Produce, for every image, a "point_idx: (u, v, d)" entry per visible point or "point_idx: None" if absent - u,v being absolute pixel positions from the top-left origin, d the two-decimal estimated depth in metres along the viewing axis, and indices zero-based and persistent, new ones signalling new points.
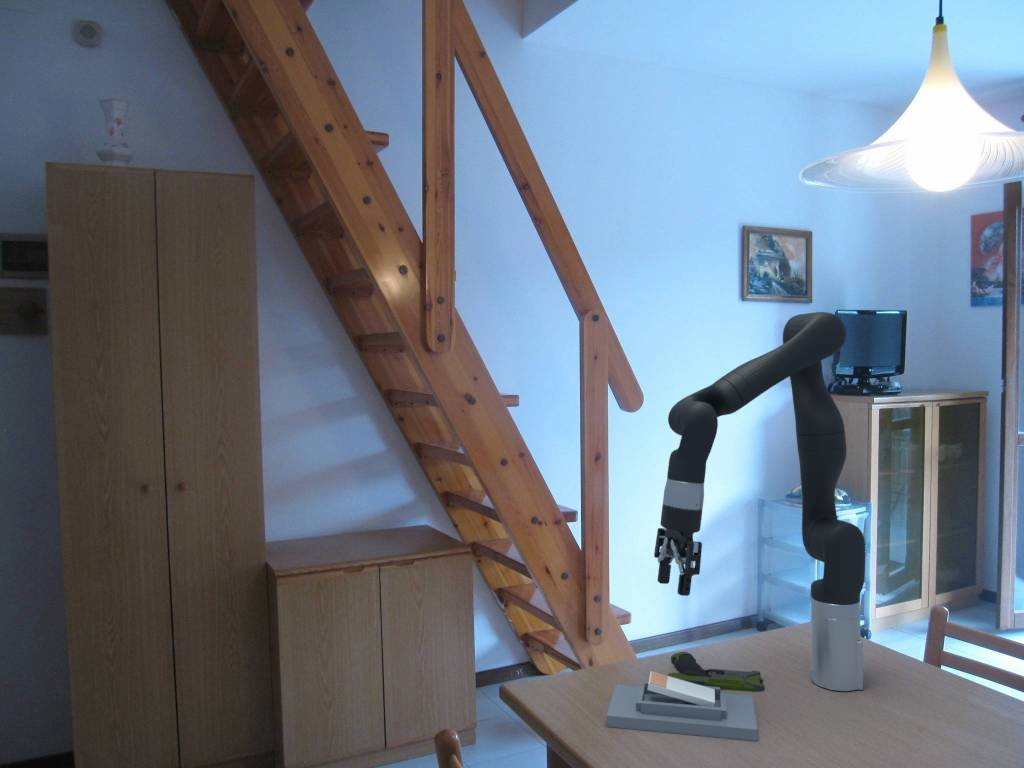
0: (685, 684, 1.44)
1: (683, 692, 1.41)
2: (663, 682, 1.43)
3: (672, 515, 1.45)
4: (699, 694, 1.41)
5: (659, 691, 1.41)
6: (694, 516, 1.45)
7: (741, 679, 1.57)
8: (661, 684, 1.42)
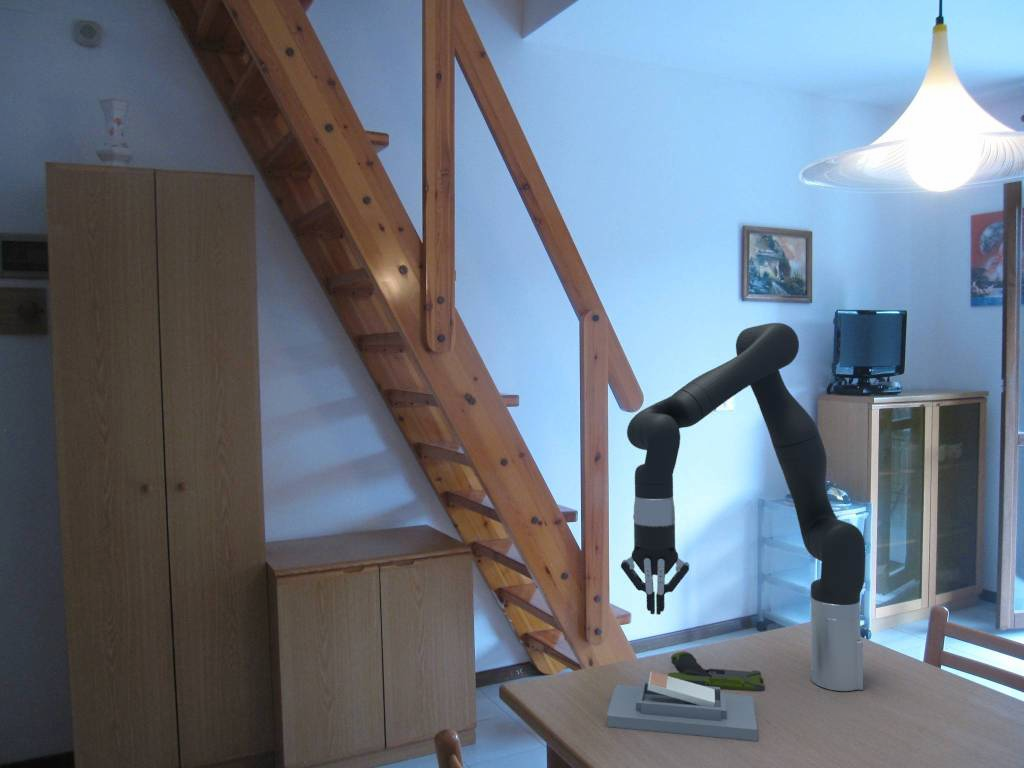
0: (685, 684, 1.44)
1: (683, 692, 1.41)
2: (663, 682, 1.43)
3: (665, 535, 1.41)
4: (699, 694, 1.41)
5: (659, 691, 1.41)
6: None
7: (741, 679, 1.57)
8: (661, 684, 1.42)
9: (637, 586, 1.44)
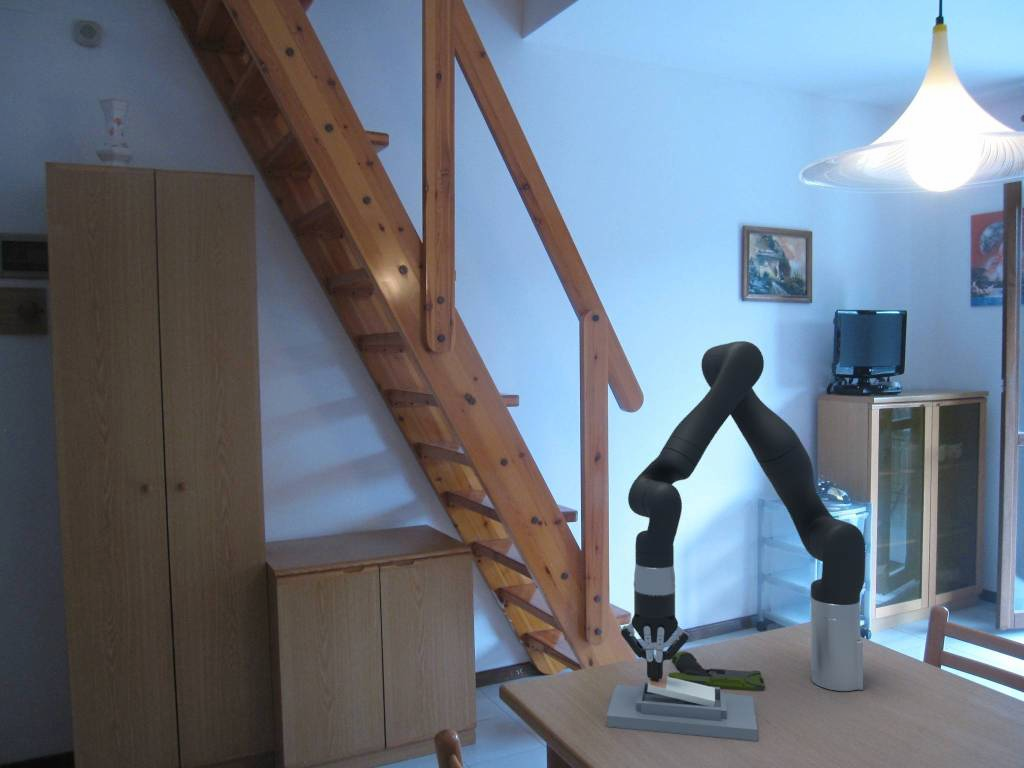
0: (684, 684, 1.44)
1: (683, 692, 1.41)
2: (663, 683, 1.43)
3: (665, 604, 1.41)
4: (699, 693, 1.41)
5: (659, 692, 1.41)
6: None
7: (742, 679, 1.58)
8: (661, 685, 1.42)
9: (638, 653, 1.44)
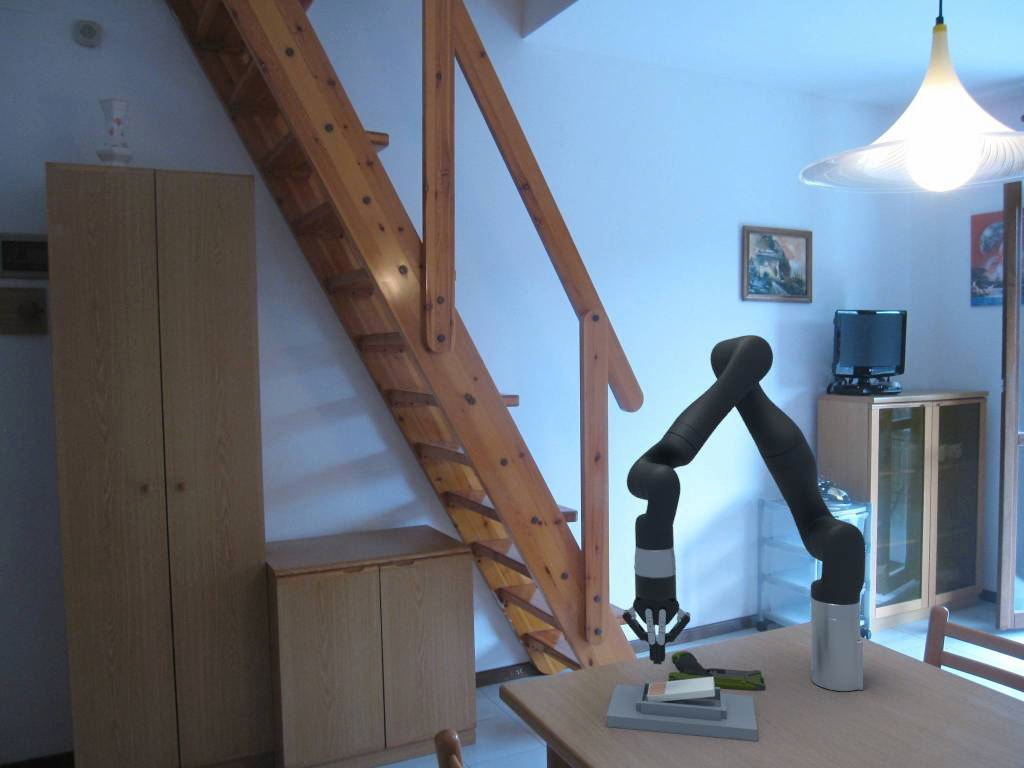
0: (683, 683, 1.44)
1: (682, 691, 1.41)
2: (661, 689, 1.43)
3: (666, 586, 1.41)
4: (697, 687, 1.42)
5: (660, 700, 1.41)
6: None
7: (742, 678, 1.58)
8: (660, 692, 1.42)
9: (640, 636, 1.44)
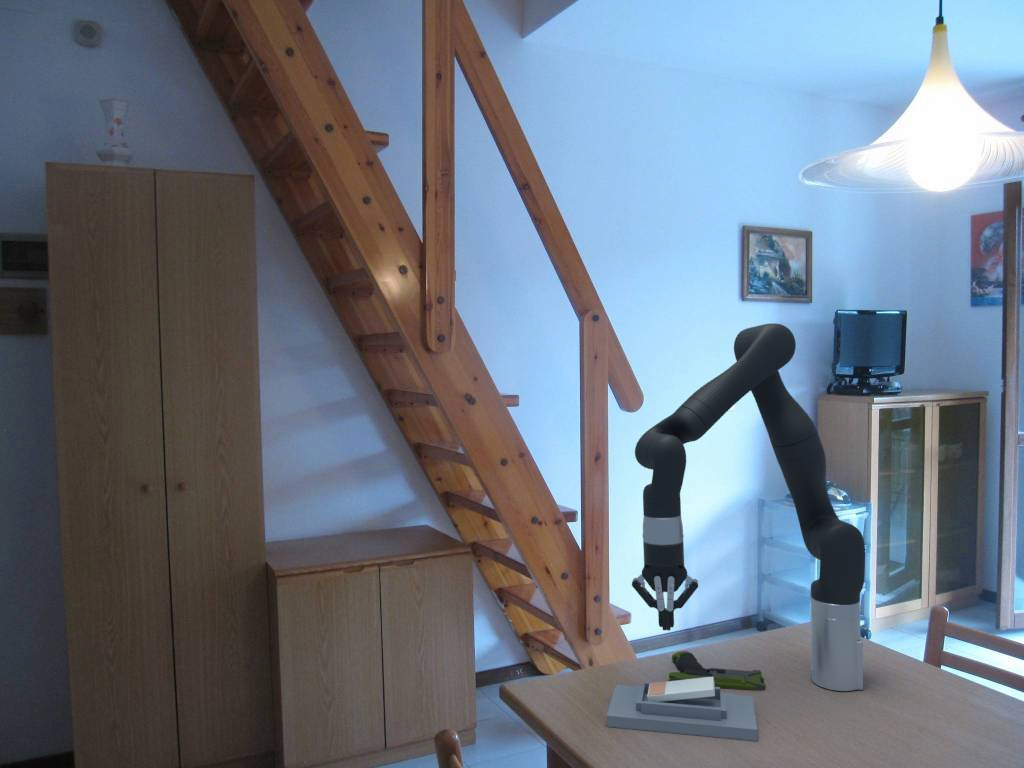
0: (683, 683, 1.44)
1: (682, 691, 1.41)
2: (661, 689, 1.43)
3: (674, 553, 1.44)
4: (697, 687, 1.42)
5: (660, 700, 1.41)
6: None
7: (742, 678, 1.58)
8: (660, 692, 1.42)
9: (649, 603, 1.47)
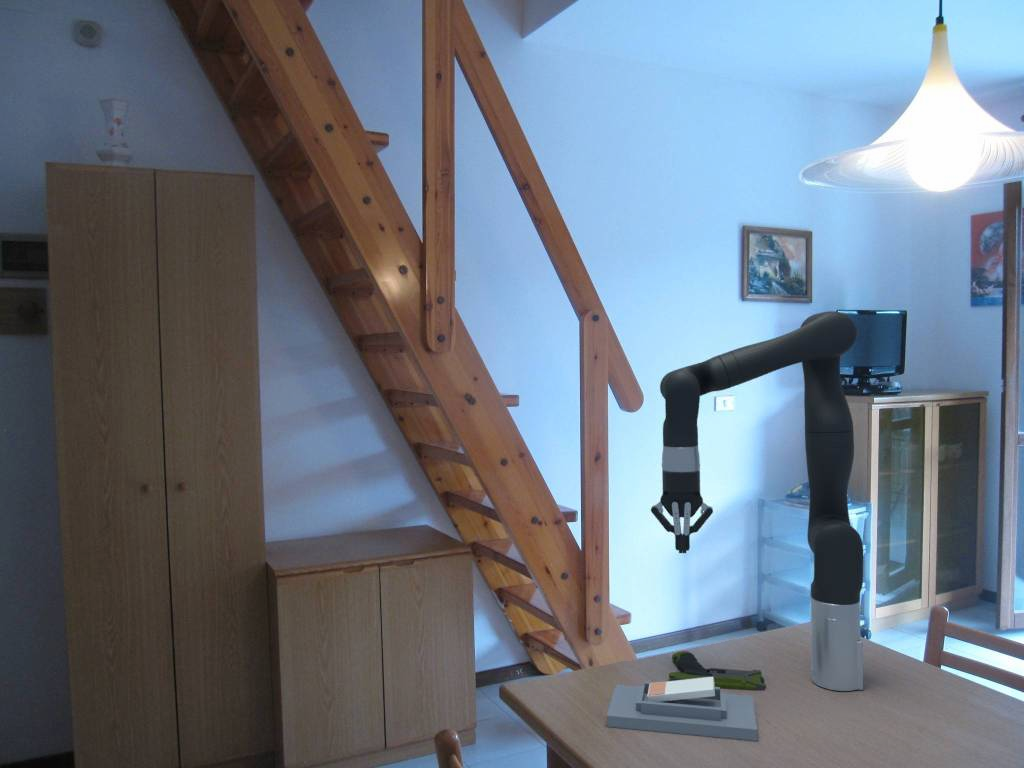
0: (683, 683, 1.44)
1: (682, 691, 1.41)
2: (661, 689, 1.43)
3: (691, 480, 1.55)
4: (697, 687, 1.42)
5: (660, 700, 1.41)
6: None
7: (742, 678, 1.58)
8: (660, 692, 1.42)
9: (666, 528, 1.58)
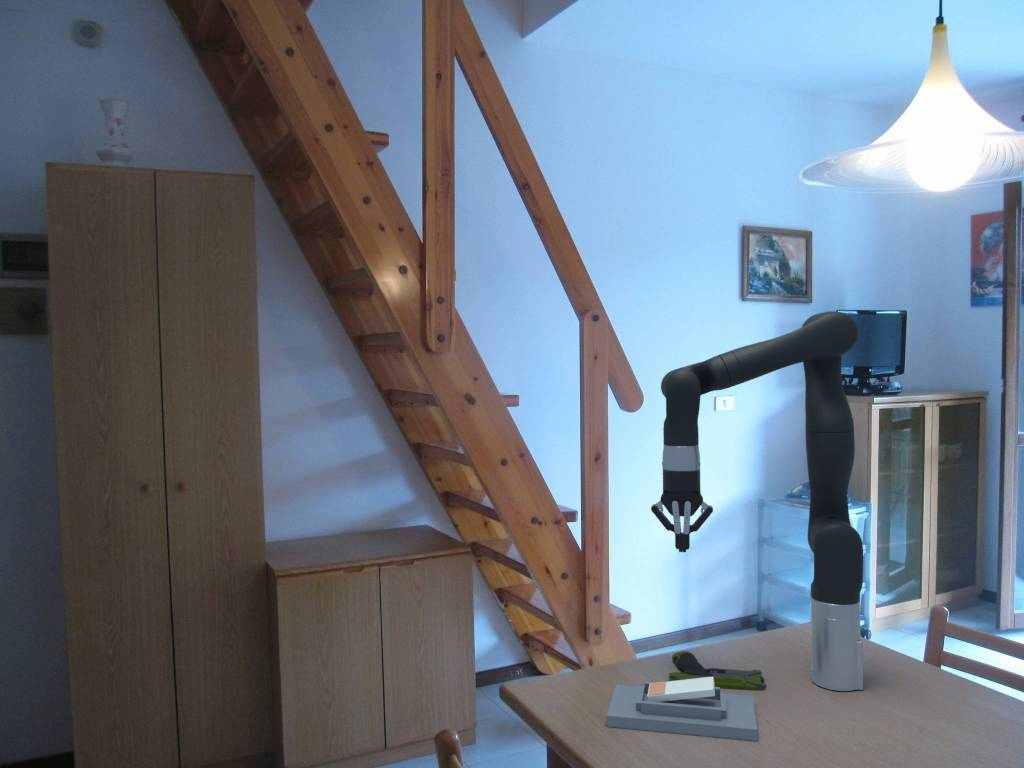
0: (683, 683, 1.44)
1: (682, 691, 1.41)
2: (661, 689, 1.43)
3: (692, 479, 1.55)
4: (697, 687, 1.42)
5: (660, 700, 1.41)
6: None
7: (742, 678, 1.58)
8: (660, 692, 1.42)
9: (666, 527, 1.58)
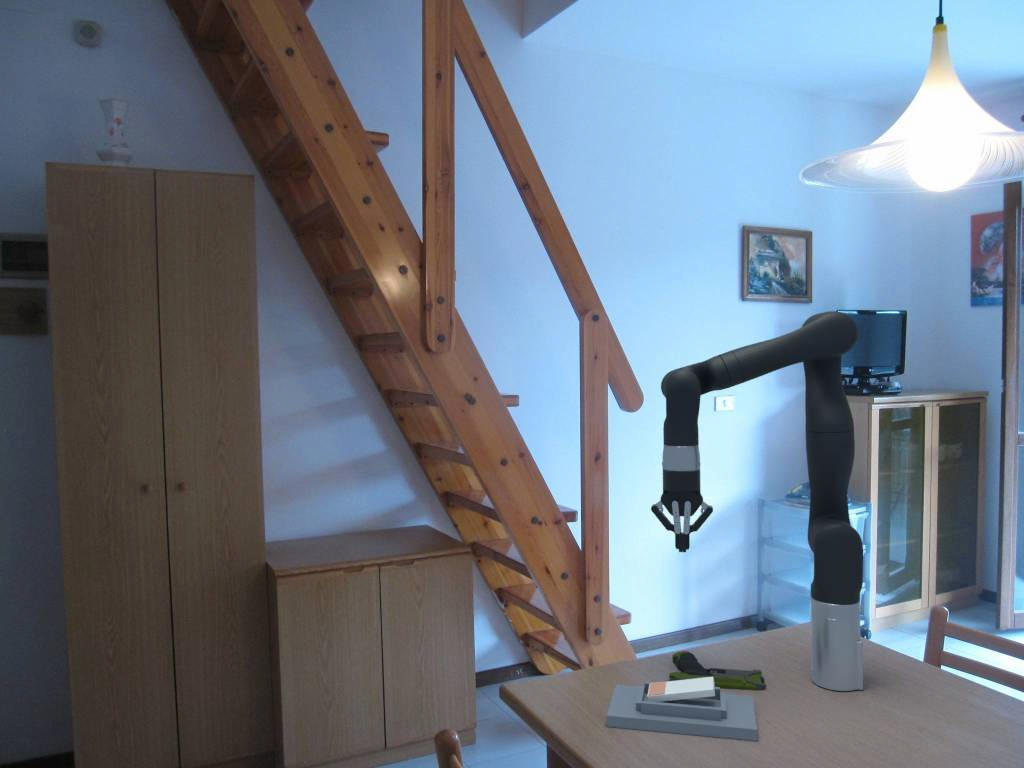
0: (683, 683, 1.44)
1: (682, 691, 1.41)
2: (661, 689, 1.43)
3: (692, 479, 1.55)
4: (697, 687, 1.42)
5: (660, 700, 1.41)
6: None
7: (742, 678, 1.58)
8: (660, 692, 1.42)
9: (666, 527, 1.58)
